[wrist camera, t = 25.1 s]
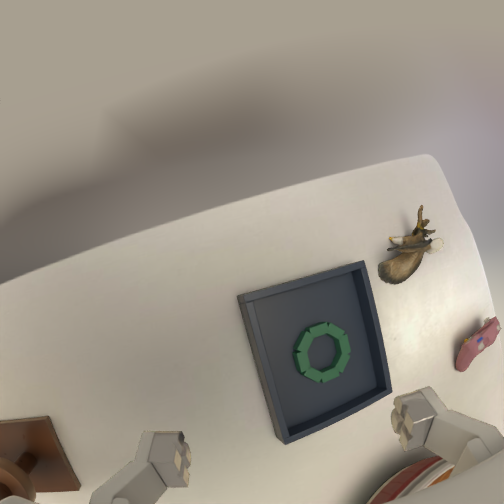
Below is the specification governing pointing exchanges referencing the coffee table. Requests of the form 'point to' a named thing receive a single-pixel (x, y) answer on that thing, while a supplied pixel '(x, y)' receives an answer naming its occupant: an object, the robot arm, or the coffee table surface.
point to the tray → (316, 348)
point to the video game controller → (477, 343)
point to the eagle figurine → (409, 253)
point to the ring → (304, 344)
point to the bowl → (413, 479)
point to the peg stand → (32, 460)
